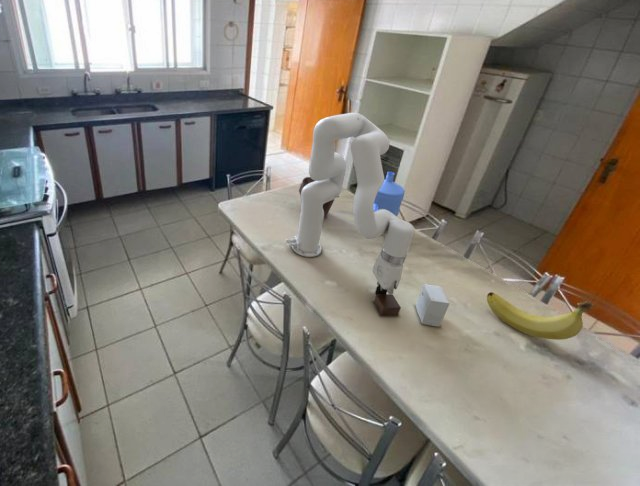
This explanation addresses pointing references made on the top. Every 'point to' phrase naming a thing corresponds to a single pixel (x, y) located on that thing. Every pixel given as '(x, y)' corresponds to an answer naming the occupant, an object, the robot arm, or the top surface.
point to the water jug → (389, 195)
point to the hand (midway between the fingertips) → (379, 295)
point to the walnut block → (386, 305)
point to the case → (326, 205)
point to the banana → (539, 319)
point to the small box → (432, 305)
